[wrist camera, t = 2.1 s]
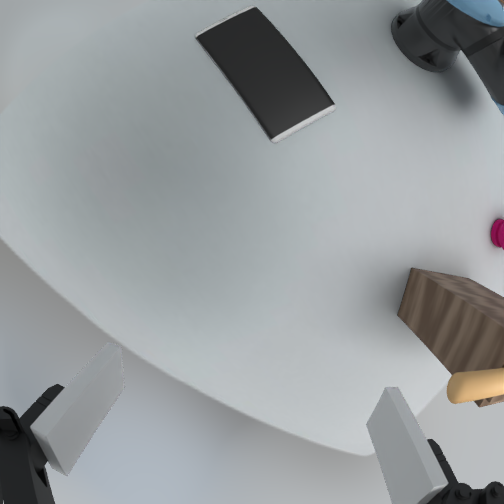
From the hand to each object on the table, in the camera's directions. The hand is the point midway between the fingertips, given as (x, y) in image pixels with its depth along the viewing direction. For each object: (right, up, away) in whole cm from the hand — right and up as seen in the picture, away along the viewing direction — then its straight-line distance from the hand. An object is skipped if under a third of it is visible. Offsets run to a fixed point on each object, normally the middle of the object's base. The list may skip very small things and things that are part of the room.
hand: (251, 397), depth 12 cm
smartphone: (+2, +39, +32) cm, 51 cm away
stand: (+38, -2, +38) cm, 54 cm away
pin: (+32, -8, +9) cm, 34 cm away
